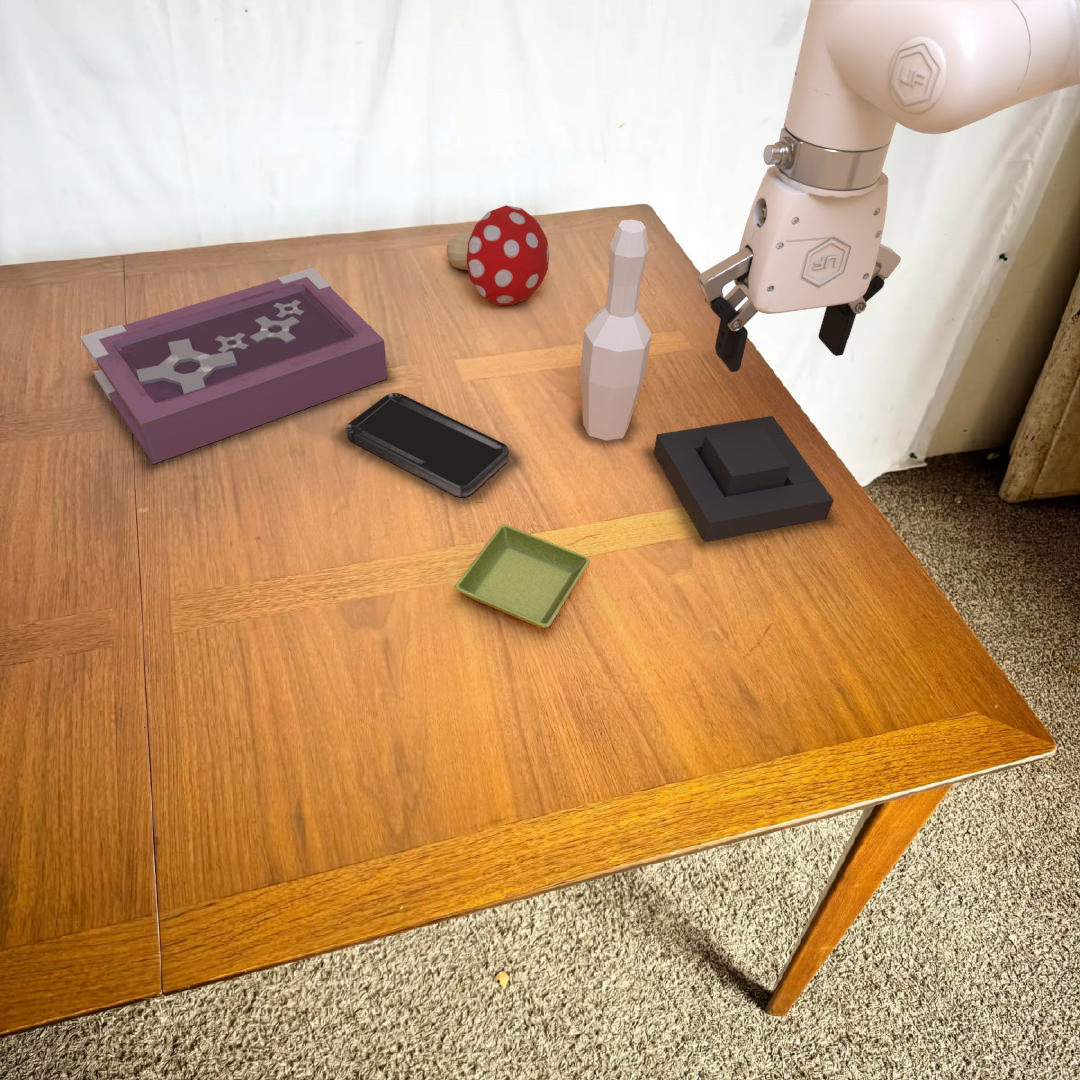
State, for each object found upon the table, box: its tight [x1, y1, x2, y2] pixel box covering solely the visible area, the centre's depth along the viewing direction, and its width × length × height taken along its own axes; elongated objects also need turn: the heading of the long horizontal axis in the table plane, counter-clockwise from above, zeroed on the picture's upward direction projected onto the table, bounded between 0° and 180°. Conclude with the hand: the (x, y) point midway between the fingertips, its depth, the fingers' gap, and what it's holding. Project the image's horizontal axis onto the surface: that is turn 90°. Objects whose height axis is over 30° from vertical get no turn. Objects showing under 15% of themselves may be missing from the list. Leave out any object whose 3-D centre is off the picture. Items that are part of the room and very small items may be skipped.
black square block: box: [700, 426, 790, 497], centre depth 91 cm, size 6×6×4 cm
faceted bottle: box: [580, 219, 653, 441], centre depth 90 cm, size 6×6×22 cm
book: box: [79, 267, 388, 465], centre depth 99 cm, size 25×16×5 cm, turn 126°
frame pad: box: [653, 415, 834, 543], centre depth 92 cm, size 13×13×2 cm
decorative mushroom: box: [446, 204, 551, 307], centre depth 113 cm, size 11×11×15 cm
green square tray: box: [454, 523, 591, 629], centre depth 81 cm, size 9×9×2 cm
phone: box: [346, 392, 510, 498], centre depth 94 cm, size 8×1×15 cm
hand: (779, 354), depth 82 cm, fingers open, 9 cm apart
